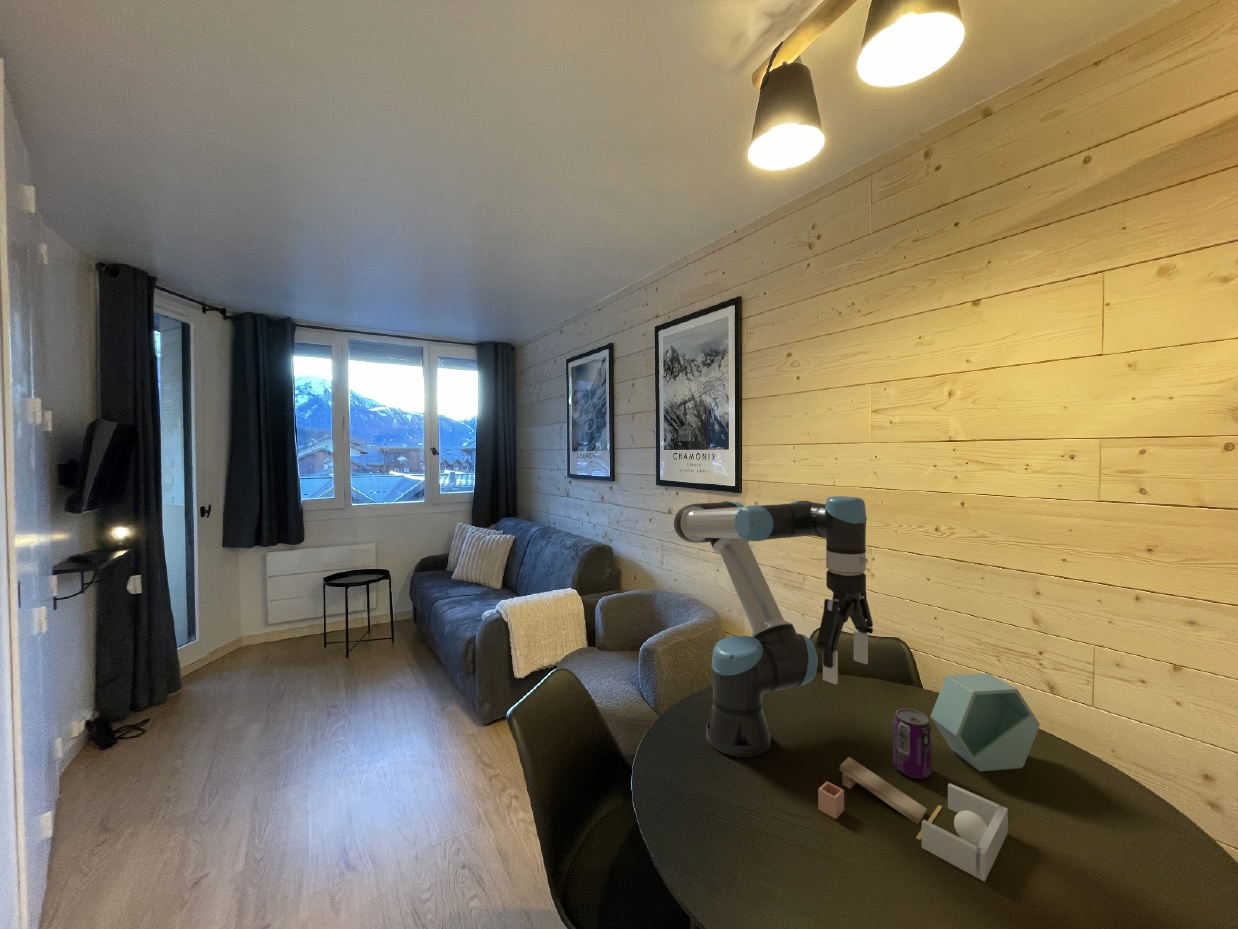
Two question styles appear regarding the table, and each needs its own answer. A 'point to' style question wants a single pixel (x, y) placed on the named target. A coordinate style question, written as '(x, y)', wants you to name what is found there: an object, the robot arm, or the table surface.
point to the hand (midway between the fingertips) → (846, 671)
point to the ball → (970, 827)
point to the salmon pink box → (831, 799)
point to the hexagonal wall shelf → (985, 721)
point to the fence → (960, 850)
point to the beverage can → (912, 743)
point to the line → (930, 820)
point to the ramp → (880, 789)
